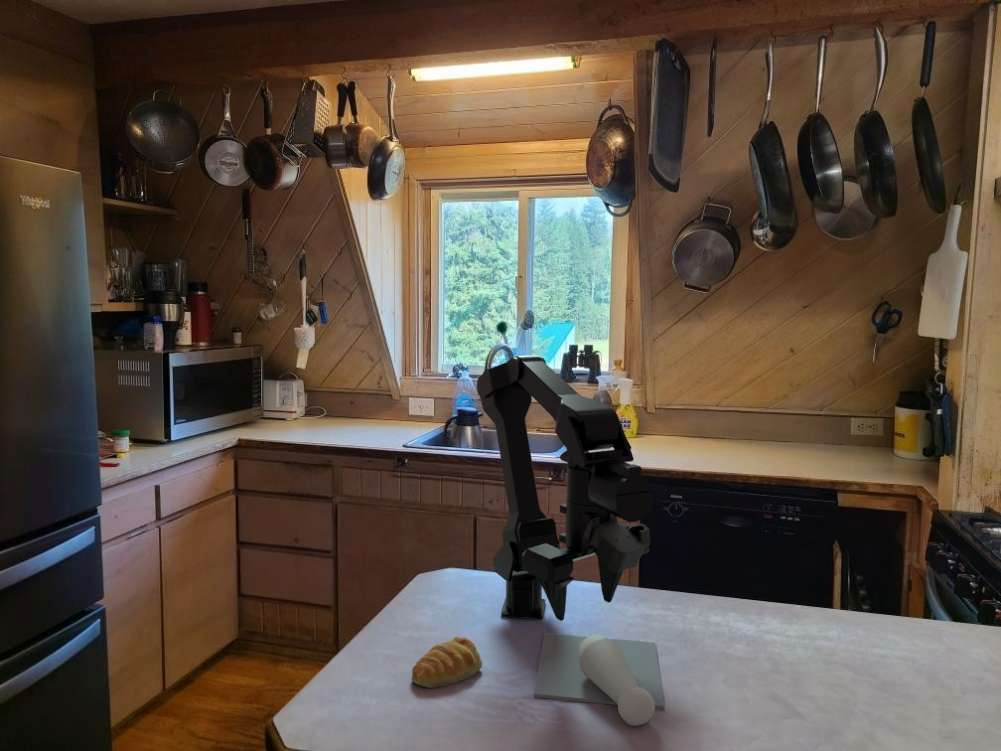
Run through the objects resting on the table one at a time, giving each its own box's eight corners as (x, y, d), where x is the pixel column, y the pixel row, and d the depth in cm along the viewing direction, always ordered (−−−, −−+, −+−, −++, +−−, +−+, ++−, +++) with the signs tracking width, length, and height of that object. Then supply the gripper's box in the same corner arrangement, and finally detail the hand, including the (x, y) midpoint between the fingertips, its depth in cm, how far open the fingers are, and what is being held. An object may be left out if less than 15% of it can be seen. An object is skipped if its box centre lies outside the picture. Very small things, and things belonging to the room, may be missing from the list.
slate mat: (544, 635, 105) (544, 633, 105) (655, 645, 103) (655, 642, 103) (533, 696, 90) (533, 693, 90) (664, 709, 87) (664, 706, 87)
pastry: (433, 699, 89) (433, 670, 89) (399, 679, 94) (399, 651, 93) (486, 671, 96) (486, 644, 95) (452, 653, 100) (452, 627, 100)
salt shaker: (618, 635, 96) (672, 698, 84) (598, 671, 96) (648, 740, 84) (585, 623, 93) (636, 687, 82) (564, 661, 94) (611, 729, 82)
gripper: (581, 530, 84) (577, 655, 86) (680, 502, 95) (675, 613, 97) (519, 506, 92) (517, 621, 94) (617, 483, 104) (613, 585, 106)
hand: (584, 610), depth 98 cm, fingers open, 9 cm apart
